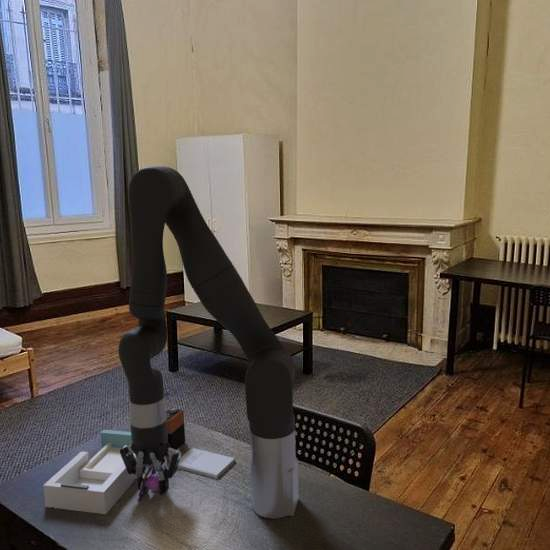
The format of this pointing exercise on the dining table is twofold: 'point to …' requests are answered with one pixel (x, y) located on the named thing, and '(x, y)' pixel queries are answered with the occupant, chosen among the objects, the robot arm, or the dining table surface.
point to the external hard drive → (205, 463)
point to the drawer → (107, 455)
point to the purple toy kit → (149, 482)
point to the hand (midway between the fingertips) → (153, 491)
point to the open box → (85, 488)
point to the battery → (175, 427)
